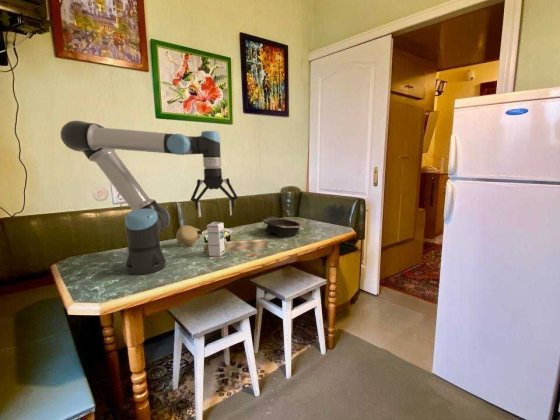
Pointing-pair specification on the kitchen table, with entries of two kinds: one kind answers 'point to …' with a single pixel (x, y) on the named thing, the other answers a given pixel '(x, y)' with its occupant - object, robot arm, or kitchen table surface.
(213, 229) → the syrup box
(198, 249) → the kitchen table surface
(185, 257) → the kitchen table surface
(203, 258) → the kitchen table surface
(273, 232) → the stone bowl
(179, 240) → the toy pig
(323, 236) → the kitchen table surface
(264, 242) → the maple fence
